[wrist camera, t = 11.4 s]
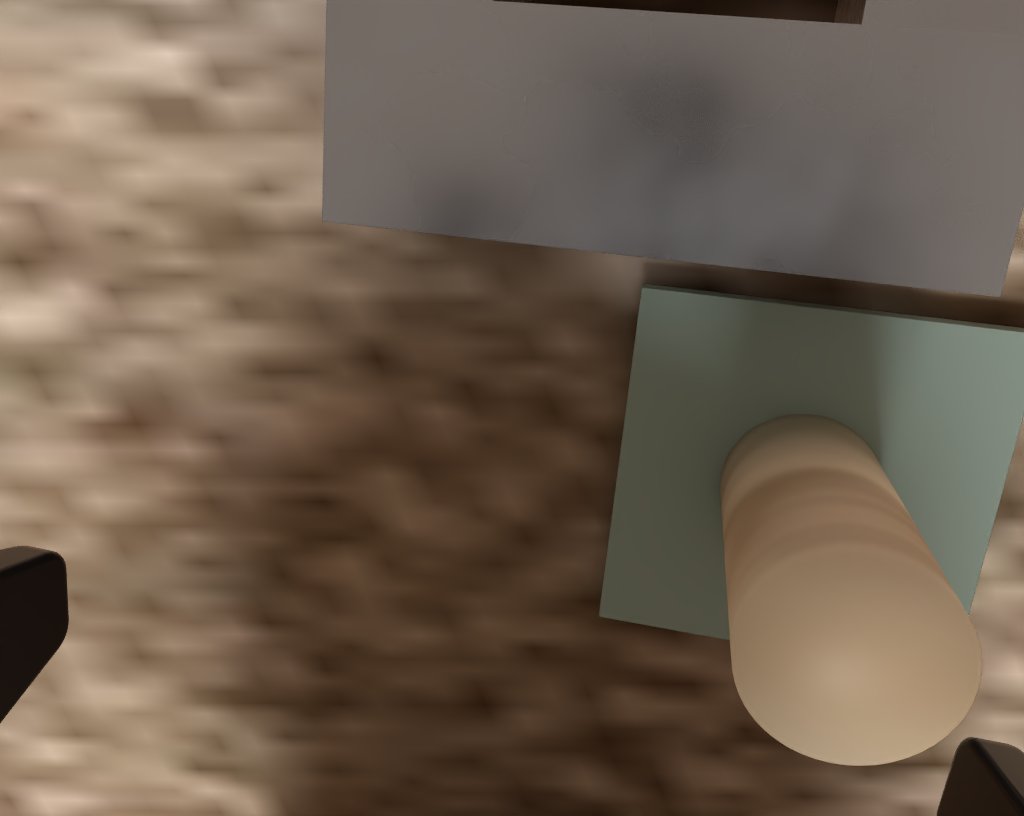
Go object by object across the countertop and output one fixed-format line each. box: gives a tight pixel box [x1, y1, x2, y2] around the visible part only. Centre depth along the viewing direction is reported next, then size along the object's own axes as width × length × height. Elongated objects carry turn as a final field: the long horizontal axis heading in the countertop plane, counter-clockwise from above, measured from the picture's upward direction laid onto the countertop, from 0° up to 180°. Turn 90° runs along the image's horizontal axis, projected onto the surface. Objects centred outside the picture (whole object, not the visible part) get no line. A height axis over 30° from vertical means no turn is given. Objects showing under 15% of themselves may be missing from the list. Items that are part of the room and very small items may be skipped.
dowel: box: [720, 414, 982, 766], centre depth 16 cm, size 3×3×7 cm
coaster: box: [599, 284, 1024, 640], centre depth 19 cm, size 8×8×1 cm
